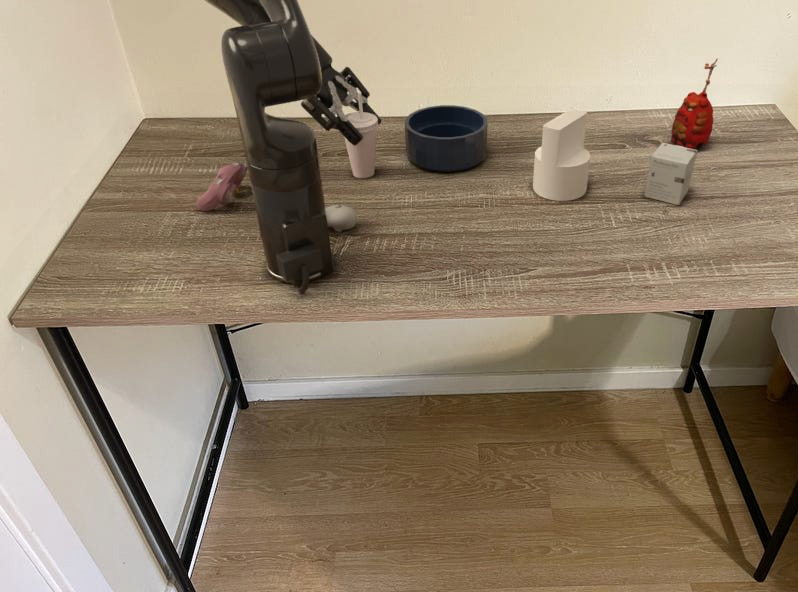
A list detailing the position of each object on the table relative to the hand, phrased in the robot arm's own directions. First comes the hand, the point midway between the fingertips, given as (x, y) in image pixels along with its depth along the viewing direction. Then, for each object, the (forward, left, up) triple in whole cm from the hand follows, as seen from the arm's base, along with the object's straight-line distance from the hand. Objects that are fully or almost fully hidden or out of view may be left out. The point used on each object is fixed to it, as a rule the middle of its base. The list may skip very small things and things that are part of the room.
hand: (368, 133), depth 127 cm
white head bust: (-12, +14, -8) cm, 20 cm away
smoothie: (+1, +1, -8) cm, 8 cm away
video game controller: (+6, +24, -8) cm, 26 cm away
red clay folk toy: (-24, -54, -8) cm, 60 cm away
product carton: (-35, -36, -8) cm, 51 cm away
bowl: (-2, -15, -7) cm, 17 cm away
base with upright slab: (-23, -23, -8) cm, 33 cm away
